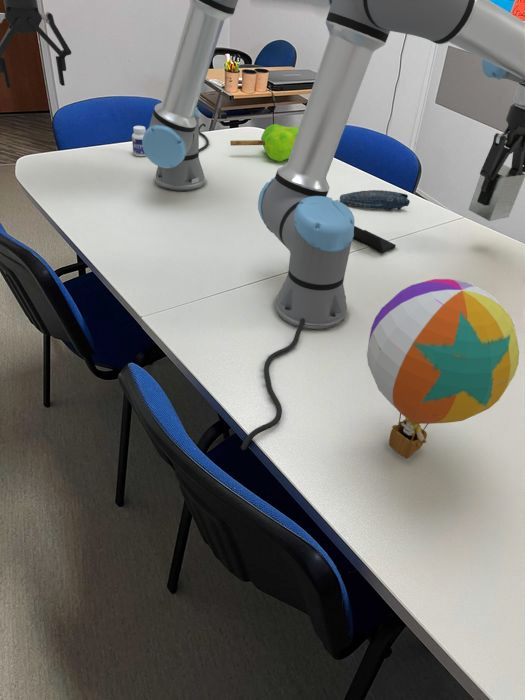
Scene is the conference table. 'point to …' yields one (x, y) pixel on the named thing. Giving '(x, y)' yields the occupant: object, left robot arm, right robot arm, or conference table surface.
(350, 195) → the fish model
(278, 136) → the decorative tree
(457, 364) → the toy
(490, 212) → the metal block
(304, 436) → the conference table surface
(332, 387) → the conference table surface
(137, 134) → the pill bottle
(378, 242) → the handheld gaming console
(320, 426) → the conference table surface
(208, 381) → the conference table surface
